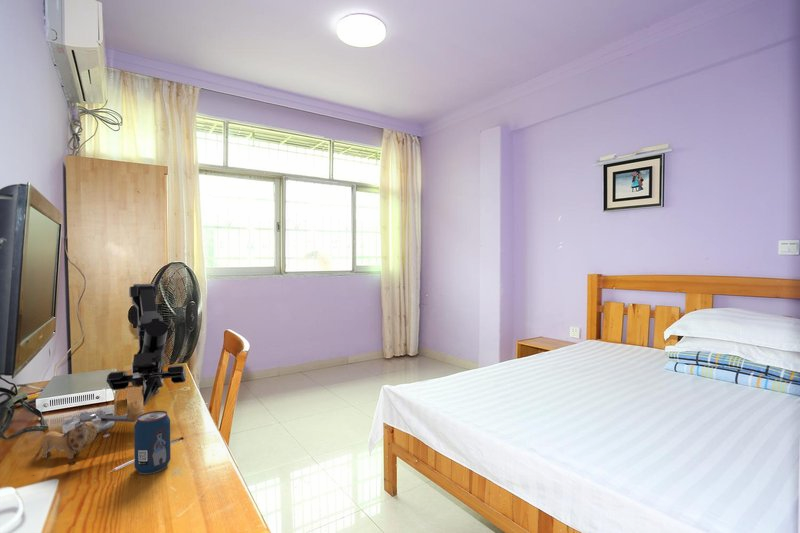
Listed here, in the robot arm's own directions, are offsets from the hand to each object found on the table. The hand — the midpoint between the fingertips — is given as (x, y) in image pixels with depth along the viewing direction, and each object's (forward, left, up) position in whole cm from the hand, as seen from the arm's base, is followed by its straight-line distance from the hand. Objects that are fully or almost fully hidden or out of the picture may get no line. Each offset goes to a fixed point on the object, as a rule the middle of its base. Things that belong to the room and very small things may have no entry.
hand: (143, 405), depth 108 cm
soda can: (+22, +8, -7) cm, 25 cm away
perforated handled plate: (-1, -9, -6) cm, 11 cm away
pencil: (+15, +5, -8) cm, 18 cm away
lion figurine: (+12, -12, -7) cm, 19 cm away
